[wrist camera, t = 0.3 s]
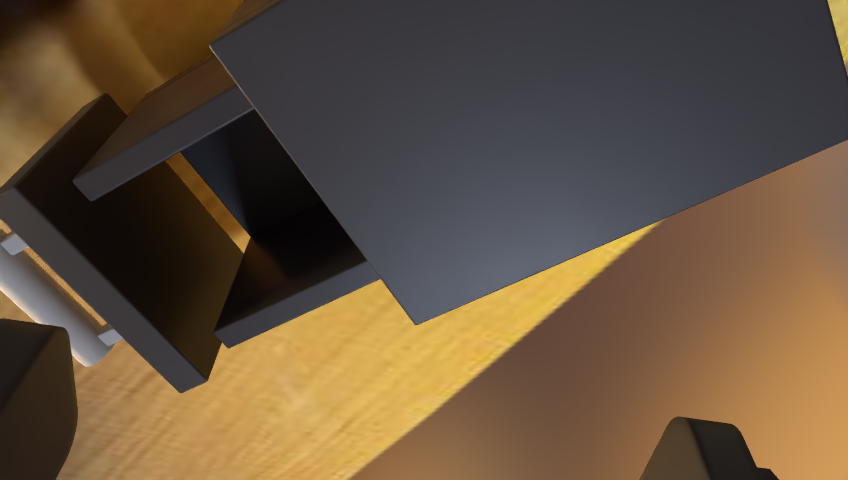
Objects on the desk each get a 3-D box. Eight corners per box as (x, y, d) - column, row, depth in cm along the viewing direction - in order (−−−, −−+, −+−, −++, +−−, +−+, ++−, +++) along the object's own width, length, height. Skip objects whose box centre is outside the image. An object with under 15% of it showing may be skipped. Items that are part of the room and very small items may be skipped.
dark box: (421, 183, 29) (415, 327, 21) (275, -41, 24) (206, 45, 17) (741, 25, 25) (864, 134, 18) (641, -273, 20) (751, -289, 13)
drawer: (150, 312, 31) (86, 436, 26) (-1, 158, 27) (-117, 264, 22) (478, 150, 27) (490, 256, 21) (354, -63, 23) (326, -3, 17)
